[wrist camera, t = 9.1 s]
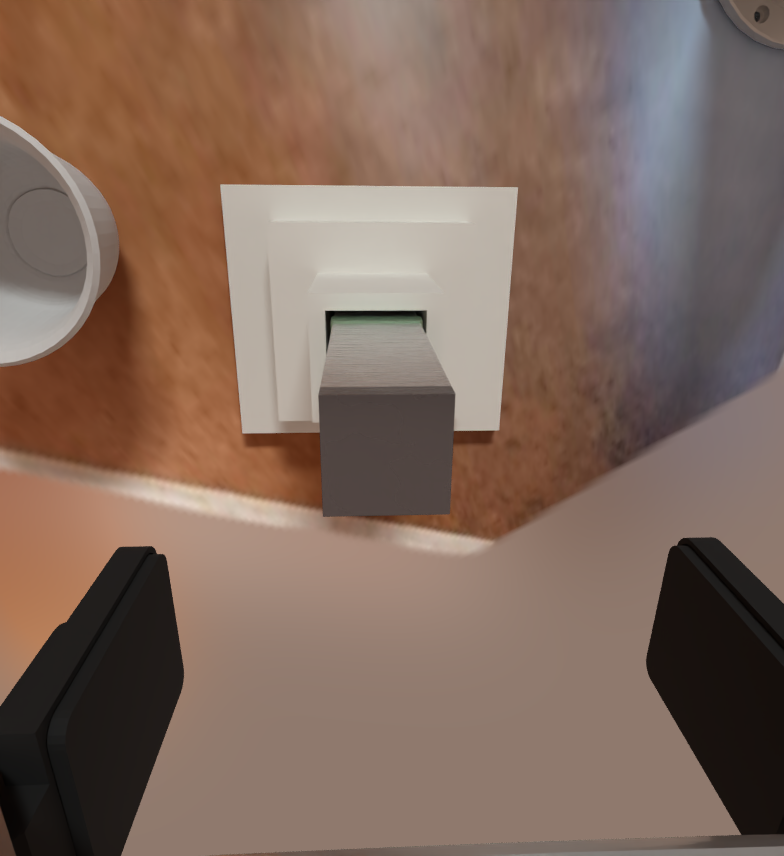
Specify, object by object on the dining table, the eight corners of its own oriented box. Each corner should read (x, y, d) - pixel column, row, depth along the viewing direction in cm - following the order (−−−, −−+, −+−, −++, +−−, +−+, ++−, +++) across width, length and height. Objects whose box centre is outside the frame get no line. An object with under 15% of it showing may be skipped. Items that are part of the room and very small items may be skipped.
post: (411, 299, 33) (459, 390, 17) (409, 372, 35) (452, 517, 19) (335, 299, 33) (314, 392, 17) (337, 372, 34) (319, 519, 19)
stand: (513, 187, 38) (585, 183, 26) (495, 424, 43) (547, 510, 31) (224, 185, 37) (160, 178, 25) (245, 427, 42) (201, 517, 30)
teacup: (-86, 295, 38) (-230, 327, 29) (7, 78, 34) (-125, 33, 25) (92, 395, 41) (14, 454, 32) (197, 207, 37) (143, 210, 28)
